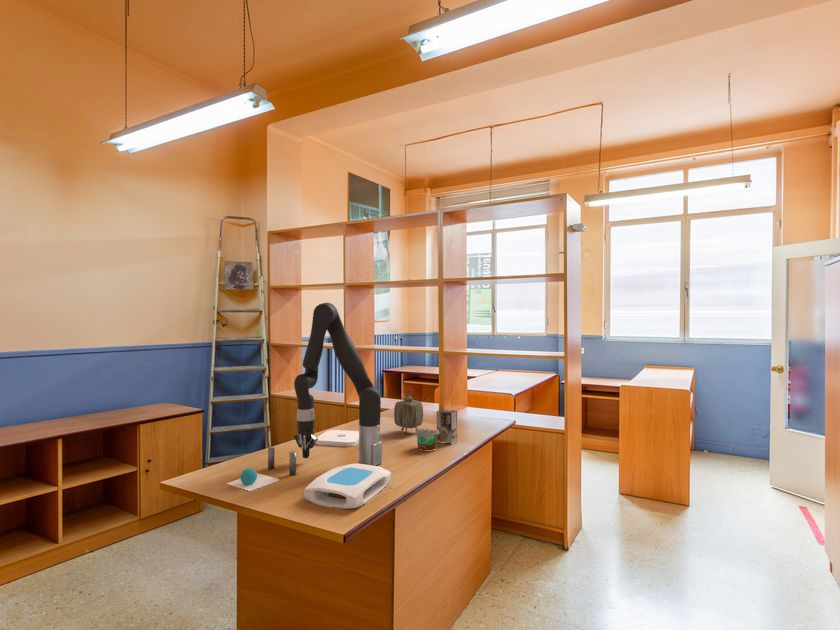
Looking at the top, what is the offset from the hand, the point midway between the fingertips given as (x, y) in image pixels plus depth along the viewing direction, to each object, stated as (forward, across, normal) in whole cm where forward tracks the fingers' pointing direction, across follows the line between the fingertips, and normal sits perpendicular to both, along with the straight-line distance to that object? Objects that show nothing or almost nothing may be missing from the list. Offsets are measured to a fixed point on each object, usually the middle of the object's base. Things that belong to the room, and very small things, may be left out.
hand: (305, 457), depth 198 cm
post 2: (+2, -7, +13) cm, 15 cm away
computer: (+3, +13, -36) cm, 39 cm away
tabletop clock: (+3, -8, -68) cm, 68 cm away
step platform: (+3, -38, +14) cm, 41 cm away
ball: (-1, -1, +30) cm, 30 cm away
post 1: (+2, +6, +13) cm, 15 cm away
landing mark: (+2, 0, +27) cm, 27 cm away
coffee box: (+3, -35, -64) cm, 73 cm away
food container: (+3, -34, -46) cm, 57 cm away
